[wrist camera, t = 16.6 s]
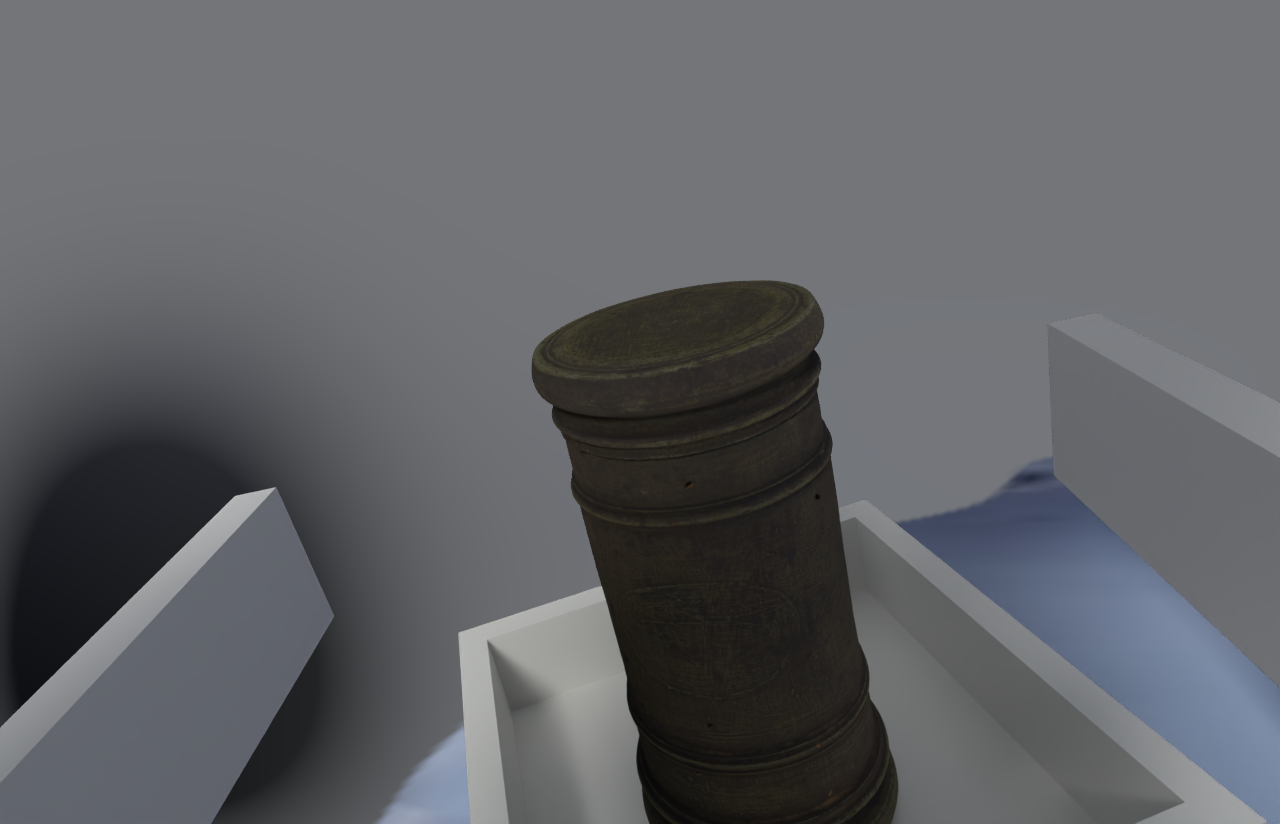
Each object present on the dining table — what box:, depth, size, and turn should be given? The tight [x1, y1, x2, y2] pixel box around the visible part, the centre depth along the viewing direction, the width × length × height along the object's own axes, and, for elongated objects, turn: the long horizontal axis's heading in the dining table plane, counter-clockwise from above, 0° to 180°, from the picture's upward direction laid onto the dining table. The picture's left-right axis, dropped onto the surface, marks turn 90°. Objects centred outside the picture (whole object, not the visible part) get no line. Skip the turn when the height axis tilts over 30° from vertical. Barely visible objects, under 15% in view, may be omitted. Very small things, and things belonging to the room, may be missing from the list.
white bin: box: [459, 499, 1267, 824], centre depth 29 cm, size 20×20×5 cm
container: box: [532, 281, 898, 824], centre depth 26 cm, size 9×9×18 cm
